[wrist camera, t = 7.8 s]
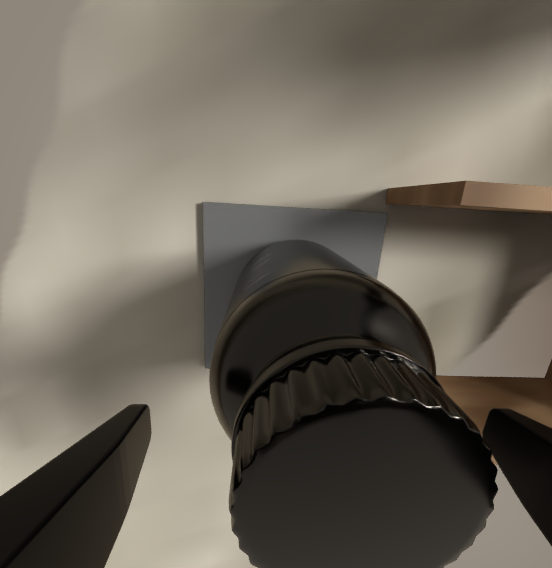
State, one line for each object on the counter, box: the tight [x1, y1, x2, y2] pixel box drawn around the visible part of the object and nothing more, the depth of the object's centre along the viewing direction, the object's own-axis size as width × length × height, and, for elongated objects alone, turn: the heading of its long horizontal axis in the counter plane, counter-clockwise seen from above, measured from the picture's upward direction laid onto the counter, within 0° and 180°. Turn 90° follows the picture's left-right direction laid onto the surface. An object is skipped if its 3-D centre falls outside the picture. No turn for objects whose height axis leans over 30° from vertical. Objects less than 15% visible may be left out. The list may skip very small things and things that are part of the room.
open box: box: [386, 181, 552, 465], centre depth 15 cm, size 14×13×6 cm
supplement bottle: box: [209, 240, 498, 568], centre depth 11 cm, size 7×7×12 cm
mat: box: [203, 202, 388, 369], centre depth 16 cm, size 10×10×1 cm
